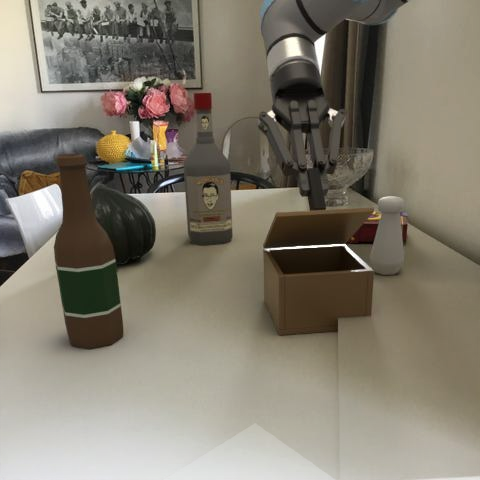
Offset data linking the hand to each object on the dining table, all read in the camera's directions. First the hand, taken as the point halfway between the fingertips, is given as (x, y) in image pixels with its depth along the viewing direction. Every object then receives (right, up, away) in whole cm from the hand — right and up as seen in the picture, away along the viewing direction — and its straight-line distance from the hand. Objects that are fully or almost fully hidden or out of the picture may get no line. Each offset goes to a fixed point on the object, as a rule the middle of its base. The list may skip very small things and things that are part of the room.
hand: (318, 214), depth 75 cm
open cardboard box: (0, -13, +8) cm, 15 cm away
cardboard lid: (0, -2, +3) cm, 4 cm away
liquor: (-17, +3, +50) cm, 52 cm away
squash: (-34, -2, +37) cm, 51 cm away
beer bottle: (-30, -17, +2) cm, 34 cm away
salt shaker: (+15, -6, +25) cm, 30 cm away
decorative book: (+17, +4, +47) cm, 50 cm away
